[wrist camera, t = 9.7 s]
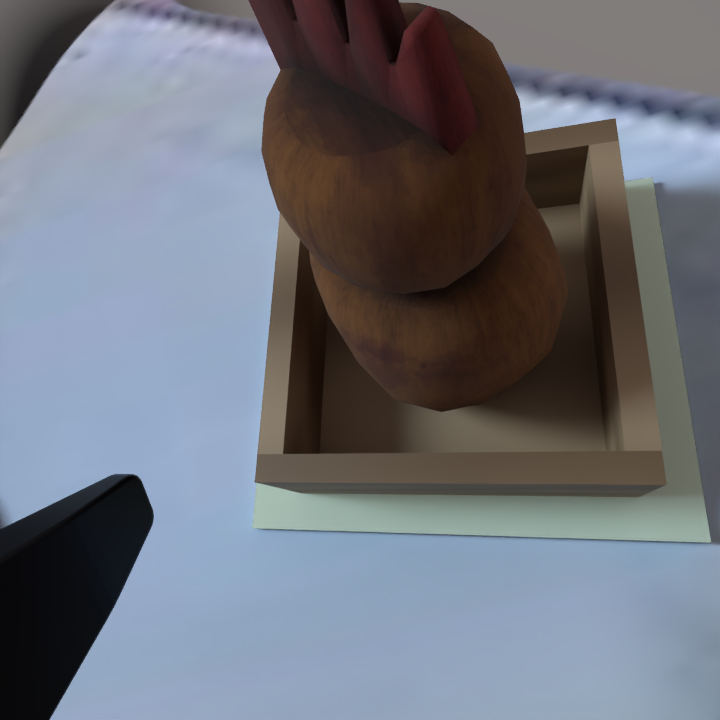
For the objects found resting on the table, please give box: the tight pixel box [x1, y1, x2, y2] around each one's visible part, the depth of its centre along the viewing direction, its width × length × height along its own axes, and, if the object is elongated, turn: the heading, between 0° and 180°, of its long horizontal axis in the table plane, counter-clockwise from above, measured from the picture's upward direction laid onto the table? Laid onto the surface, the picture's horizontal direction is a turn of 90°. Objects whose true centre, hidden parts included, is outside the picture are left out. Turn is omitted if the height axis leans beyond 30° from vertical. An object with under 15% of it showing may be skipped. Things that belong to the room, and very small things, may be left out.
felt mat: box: [252, 177, 711, 543], centre depth 19 cm, size 12×14×1 cm
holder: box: [255, 119, 667, 497], centre depth 17 cm, size 11×11×4 cm
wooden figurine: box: [249, 0, 568, 412], centre depth 12 cm, size 7×6×15 cm
